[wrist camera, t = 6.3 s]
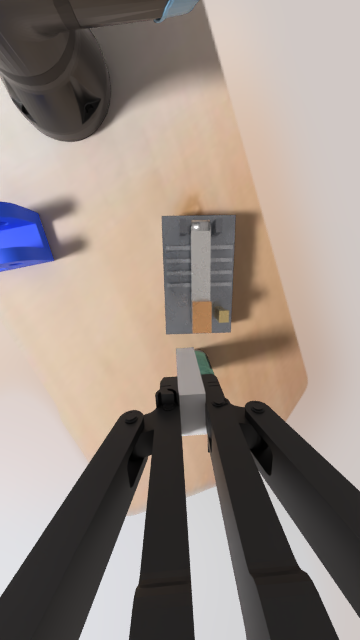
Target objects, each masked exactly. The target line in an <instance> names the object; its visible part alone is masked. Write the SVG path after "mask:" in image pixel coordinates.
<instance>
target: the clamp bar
mask: <svg viewBox="0 0 360 640" xmlns="http://www.w3.org/2000/svg"><path fill="white" fill-rule="evenodd" d="M210 264H211V226H210V220H191V308H192V332H193V333H212V302H211V301H210Z"/></svg>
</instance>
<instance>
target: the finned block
mask: <svg viewBox="0 0 360 640" xmlns="http://www.w3.org/2000/svg"><path fill="white" fill-rule="evenodd" d="M235 219H236V215H203V216H162V238H163V264H164V290H165V316H166V334H193V332H192V308H191V220H210V226H211V264H210V301H211V302H212V333H225V332H231V312H232V289H233V265H234V242H235Z"/></svg>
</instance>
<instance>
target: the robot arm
mask: <svg viewBox="0 0 360 640" xmlns="http://www.w3.org/2000/svg"><path fill="white" fill-rule="evenodd" d="M198 1H199V0H0V78H1V79H2V81H3V83H4V85H5V87H6V89H7V91H8V93H9V95H10V97H11V99H12V101H13V102H14V104H15V105H16V107H17V108H18V109H19V111H20V112H21V113H22V114H23V115H24V116H25V117H26V118H27V119H28V120H29V122H30V123H31V124H32V125H33V126H34V127H36V128H37V129H38V130H39V131H41V132H42V133H43V134H45V135H47V136H49V137H51V138H53V139H56V140H60V141H77V140H81V139H84V138H86V137H88V136H89V135H91V134H92V133H93V132H95V131H96V130H97V129H98V127H99V126H100V125H101V123H102V122H103V120H104V118H105V116H106V114H107V111H108V107H109V103H110V94H111V88H110V79H109V74H108V70H107V66H106V63H105V60H104V57H103V54H102V52H101V49H100V47H99V45H98V43H97V41H96V39H95V37H94V35H93V34H92V32H91V31H90V29H89V28H95V27H102V26H110V25H118V24H125V23H133V22H140V21H148V20H154V22H155V23H161V22H162V21H163V20H165V19H166V18H169V17H174V16H179V15H183V14H187V13H189V12H190V11H191V10H192V9H193V8H194V6H195V5H196V3H197V2H198ZM176 359H177V377H164V378H163V379H162V380H161V382H160V390H158V391H157V392H156V394H155V397H156V407H157V408H156V409H155V410H154V411H153V412H151V413H148V414H145V415H143V414H142V413H141V412H140V411H137V410H131V411H128V412H126V413H124V414H122V415H121V416H120V417H119V419H118V420H117V422H116V423H115V425H114V426H113V428H112V430H111V431H110V433H109V434H108V436H107V437H106V439H105V440H104V442H103V443H102V445H101V446H100V448H99V449H98V451H97V452H96V454H95V455H94V457H93V458H92V460H91V461H90V463H89V464H88V466H87V467H86V469H85V471H84V472H83V473H82V475H81V476H80V478H79V479H78V481H77V482H76V484H75V485H74V487H73V488H72V490H71V491H70V493H69V494H68V496H67V498H66V499H65V501H64V502H63V504H62V505H61V507H60V508H59V510H58V511H57V512H56V514H55V516H54V517H53V519H52V520H51V522H50V523H49V525H48V526H47V528H46V529H45V531H44V532H43V534H42V535H41V537H40V538H39V540H38V541H37V543H36V544H35V546H34V547H33V549H32V550H31V552H30V553H29V555H28V556H27V558H26V559H25V561H24V562H23V564H22V565H21V567H20V569H19V570H18V572H17V573H16V574H15V576H14V577H13V579H12V580H11V582H10V584H9V585H8V586H7V588H6V589H5V591H4V592H3V594H2V595H1V597H0V640H79V637H80V634H81V632H82V629H83V627H84V624H85V622H86V619H87V616H88V613H89V611H90V608H91V606H92V603H93V600H94V598H95V595H96V593H97V590H98V587H99V585H100V582H101V580H102V577H103V574H104V572H105V569H106V566H107V564H108V561H109V559H110V556H111V554H112V551H113V548H114V546H115V543H116V541H117V538H118V535H119V533H120V530H121V527H122V525H123V522H124V519H125V517H126V514H127V512H128V509H129V507H130V504H131V501H132V499H133V496H134V493H135V491H136V488H137V486H138V483H139V480H140V478H141V475H142V473H143V470H144V467H145V465H146V462H147V459H148V456H149V455H152V458H151V469H150V479H149V489H148V499H147V509H146V519H145V530H144V539H143V550H142V560H141V570H140V579H139V584H138V586H137V588H136V591H135V595H134V601H133V609H132V617H131V627H130V635H129V640H195V637H194V621H193V605H192V590H191V575H190V558H189V542H188V527H187V511H186V495H185V479H184V463H183V448H182V436H189V435H202V434H207V433H208V452H210V455H211V460H212V465H213V470H214V475H215V480H216V485H217V490H218V495H219V500H220V505H221V510H222V515H223V520H224V525H225V530H226V535H227V540H228V545H229V550H230V555H231V560H232V565H233V570H234V575H235V580H236V585H237V590H238V595H239V600H240V605H241V610H242V615H243V620H244V625H245V631H246V637H247V640H339V638H338V636H337V634H336V632H335V629H334V627H333V625H332V623H331V620H330V618H329V616H328V614H327V611H326V609H325V607H324V605H323V602H322V600H321V598H320V596H319V593H318V591H317V589H316V587H315V586H314V583H313V581H312V580H311V578H310V577H309V575H308V574H307V573H306V572H304V571H303V570H301V569H300V567H299V566H298V564H297V562H296V560H295V557H294V555H293V553H292V550H291V548H290V545H289V543H288V541H287V538H286V536H285V533H284V531H283V529H282V526H281V524H280V522H279V519H278V516H277V514H276V512H275V509H274V507H273V505H272V502H271V500H270V497H269V495H268V492H267V490H266V488H265V485H264V483H263V480H262V478H261V476H260V473H261V474H262V476H263V478H264V479H265V481H266V482H267V483H268V485H269V486H270V488H271V489H272V491H273V492H274V494H275V495H276V497H277V498H278V499H279V501H280V502H281V504H282V505H283V507H284V508H285V510H286V511H287V513H288V514H289V515H290V517H291V518H292V520H293V521H294V523H295V524H296V526H297V527H298V529H299V530H300V532H301V533H302V534H303V536H304V537H305V539H306V540H307V542H308V543H309V545H310V546H311V548H312V549H313V550H314V552H315V553H316V555H317V556H318V558H319V559H320V561H321V562H322V563H323V565H324V567H325V568H326V569H327V571H328V572H329V574H330V575H331V577H332V578H333V579H334V581H335V583H336V584H337V585H338V587H339V588H340V590H341V591H342V593H343V594H344V596H345V597H346V598H347V600H348V601H349V603H350V604H351V606H352V607H353V609H354V610H355V612H356V613H357V615H358V616H359V618H360V491H359V490H358V489H356V487H355V486H353V485H352V484H351V483H350V482H349V481H348V480H347V479H346V478H345V477H344V476H343V475H342V474H341V473H340V472H338V471H337V470H336V469H335V468H334V467H333V466H332V465H331V464H330V463H329V462H328V461H327V460H326V459H325V458H323V457H322V456H321V455H320V454H319V453H318V452H317V451H316V450H315V449H314V448H313V447H312V446H311V445H309V444H308V443H307V442H306V441H305V440H304V439H303V438H302V437H301V436H300V435H299V434H298V433H297V432H296V431H295V430H293V429H292V428H291V427H290V426H289V425H288V424H287V423H286V422H285V421H284V420H283V419H282V418H281V417H280V416H278V415H277V414H276V413H275V412H274V411H273V410H272V409H271V408H270V407H269V406H268V405H266V404H265V403H262V402H260V401H250V402H248V403H246V405H245V407H238V406H234V405H232V404H230V402H229V400H228V399H226V398H225V397H224V394H223V392H222V389H221V387H220V384H219V382H218V379H217V377H216V376H215V375H213V374H200V370H199V367H198V363H197V359H196V355H195V351H194V347H192V348H177V349H176ZM206 429H207V430H206ZM258 470H259V471H258ZM259 472H260V473H259Z"/></svg>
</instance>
